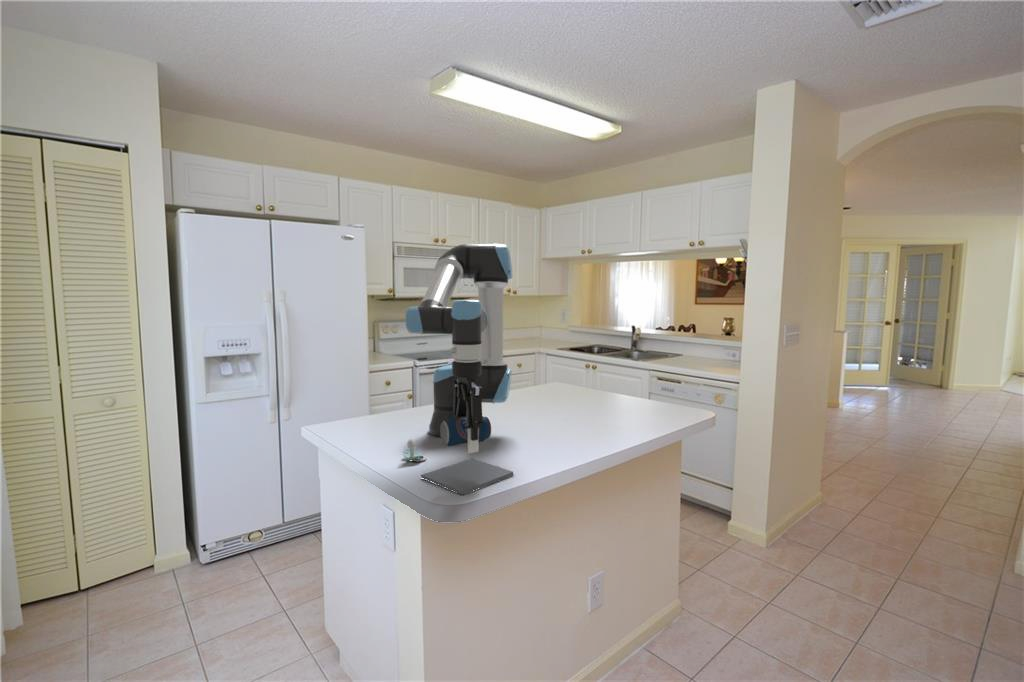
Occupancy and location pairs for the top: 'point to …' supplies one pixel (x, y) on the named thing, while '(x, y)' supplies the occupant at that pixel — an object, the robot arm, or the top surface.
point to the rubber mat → (467, 475)
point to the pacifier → (413, 453)
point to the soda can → (462, 431)
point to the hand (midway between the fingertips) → (467, 447)
